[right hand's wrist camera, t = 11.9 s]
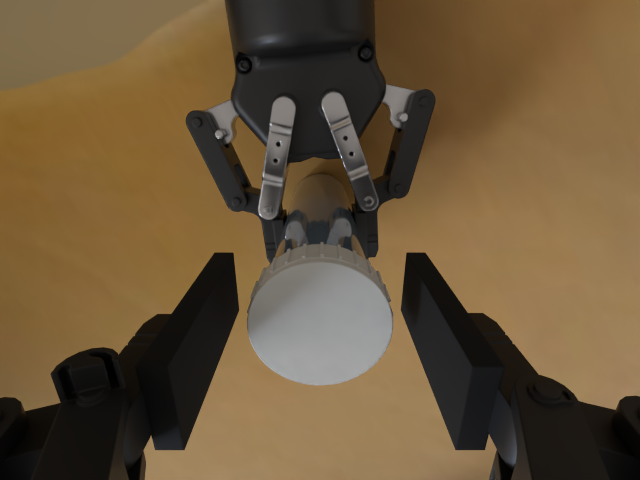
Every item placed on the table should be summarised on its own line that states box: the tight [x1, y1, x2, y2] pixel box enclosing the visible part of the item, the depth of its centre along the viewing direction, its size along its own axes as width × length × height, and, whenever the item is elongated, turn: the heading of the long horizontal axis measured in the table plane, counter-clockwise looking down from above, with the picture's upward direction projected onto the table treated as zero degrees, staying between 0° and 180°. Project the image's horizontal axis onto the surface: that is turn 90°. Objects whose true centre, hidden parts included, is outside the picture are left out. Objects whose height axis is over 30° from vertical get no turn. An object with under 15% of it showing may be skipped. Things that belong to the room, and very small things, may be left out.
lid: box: [247, 242, 393, 385], centre depth 13 cm, size 5×5×2 cm
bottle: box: [274, 174, 366, 260], centre depth 20 cm, size 4×4×17 cm
